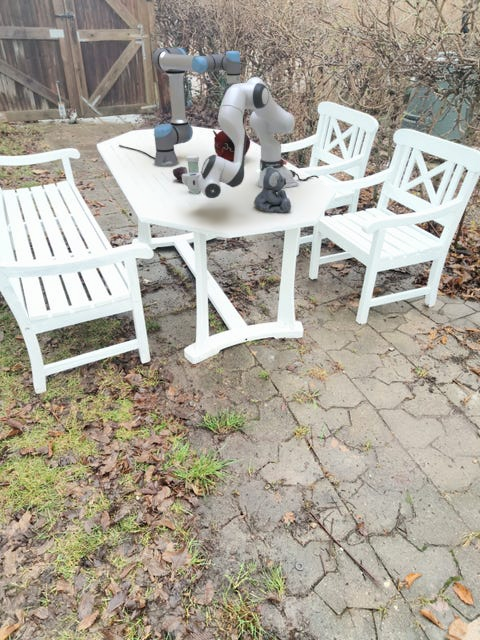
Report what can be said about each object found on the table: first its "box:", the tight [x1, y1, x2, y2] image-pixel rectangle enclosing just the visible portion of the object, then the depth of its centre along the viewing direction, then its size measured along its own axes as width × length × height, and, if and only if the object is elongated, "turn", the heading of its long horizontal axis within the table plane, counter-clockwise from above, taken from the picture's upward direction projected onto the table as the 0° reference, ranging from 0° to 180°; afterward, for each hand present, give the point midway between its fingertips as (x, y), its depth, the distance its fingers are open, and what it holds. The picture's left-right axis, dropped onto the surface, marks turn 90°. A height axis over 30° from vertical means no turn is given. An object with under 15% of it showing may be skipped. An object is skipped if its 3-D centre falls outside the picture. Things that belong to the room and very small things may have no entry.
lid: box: [186, 154, 200, 163], centre depth 238 cm, size 6×6×2 cm
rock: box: [172, 166, 188, 183], centre depth 261 cm, size 12×9×10 cm
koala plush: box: [253, 166, 292, 213], centre depth 221 cm, size 17×18×20 cm
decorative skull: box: [212, 129, 251, 163], centre depth 295 cm, size 21×24×25 cm
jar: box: [187, 161, 201, 195], centre depth 243 cm, size 6×6×19 cm
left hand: (234, 125), depth 259 cm, fingers open, 13 cm apart
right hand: (200, 173), depth 222 cm, fingers open, 8 cm apart
